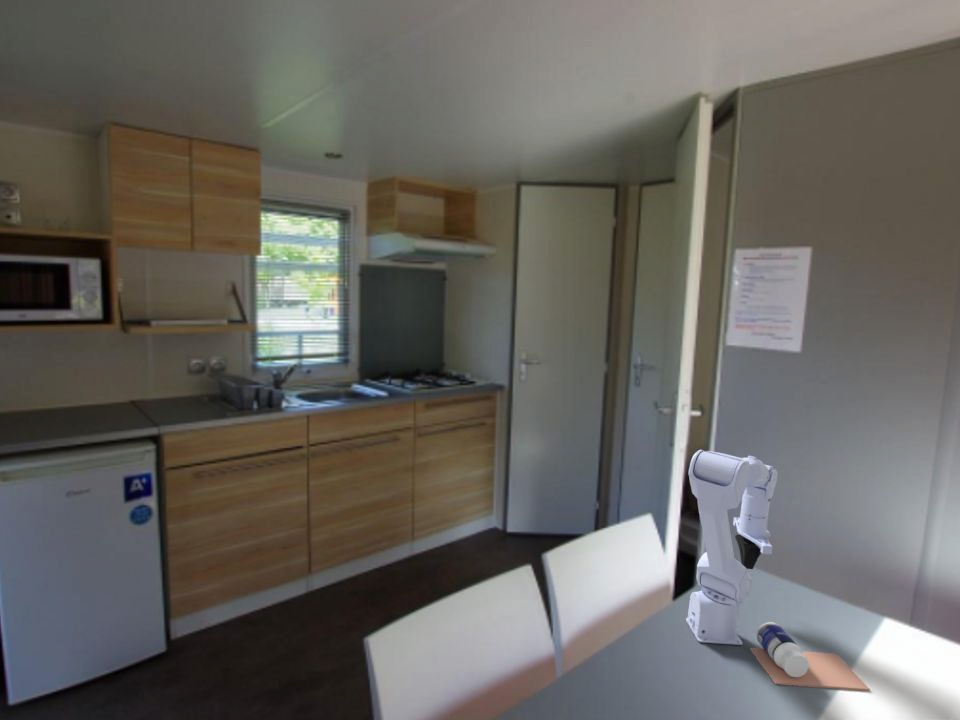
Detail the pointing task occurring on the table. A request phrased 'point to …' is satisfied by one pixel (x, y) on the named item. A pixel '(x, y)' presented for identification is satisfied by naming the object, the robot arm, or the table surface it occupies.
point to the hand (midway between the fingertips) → (747, 567)
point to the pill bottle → (782, 649)
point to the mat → (814, 672)
